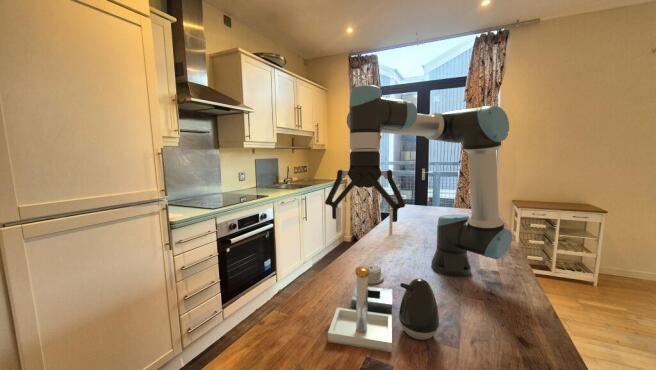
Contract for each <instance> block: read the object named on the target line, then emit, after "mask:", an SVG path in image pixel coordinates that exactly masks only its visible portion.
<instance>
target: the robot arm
mask: <svg viewBox="0 0 656 370" xmlns="http://www.w3.org/2000/svg"><path fill="white" fill-rule="evenodd" d="M348 107H349V112H348V114H347V116H346V125H347V128H348V129H349V149H350V150H352V151H350V152H349V169H348V170H343V169H338V170H337V171H336V179H335V180H334V183H333V184H332V187H331V189H330V191H329V193H328V195H327V197H326V199H325V202H324V204H325V205H326V206H330V207H331V213H332V215H331V216H332V217H331V218H332V219H333V220H335V232H336V233H340V232H341V230H342V222H341V221H342V219H341V218H342V215H341V214H342V207H341V205H339V204H340V203H341V202H342V201H343V200H344V198H345V197H346V196H347V195H348V194H349V193H350V192H351V191H352V189H353V188H354V187H357V188H369V189H370V188H372V187H374V188H375V189H376V190H377V191H378V193H379V194H380V195H381V196H382V198H383V199H384V200H385V201H386V203H388V205H389V206H390V207H389V218H388V219H389V227H388V229H389V230H388V231H389V232H388V236H390V237H392V236H393V223H397V221H398V211H399V209H401V208H402V209H403V208H405V207H406V203H405V200H404V199H403V196H402V194H401V192H400V190H399V188H398V186H397V184H396V182H395V180H394V177H393V171H392V169H388V170H381V169H380V167H381V165H380V164H381V161H380V160H381V158H380V157H381V153H380V151H379V150H380V149H381V134H391V135H393V134H394V135H403V136H405V135H407V136H415V137H416V136H418V137H424V138H426V139H427V140H431V141H432V140H433V141H440V142H444V143H452V144H453V143H454V144H462V150H464V152H466V153H467V160H468V179H469V194H470V195H469V196H470V197H469V198H470V211H471V213H470V214H471V216H469V215H466V214H445V215H440V216H439V217H438V220H437V225H436V227H437V228H436V229H437V232H436V233H437V234H436V250H435V252H434V254H433V257H432V260H431V269H432V270H433V271H435V272H437V273H438V274H441V275H444V276H448V277H456V278H459V277H460V278H462V277H468V276H469V275H471V272H472V271H471V270H472V266H471V263H470V259H469V255H468V252H470V253H473V254H476V255H480V256H483V257H485V258H489V259H492V260H500V259H502V258H503V257H504V256H505V255H506V254H507V253H508V251H509V249H510V248H511V245H512V241H513V233H512V231H511V230H510V229H508V228H507V227H505V221H504V219H503V218H502V217H500V216H499V215H500V214H499V189H498V188H499V187H498V186H499V185H498V184H499V183H498V162H497V161H498V159H497V151H498V150H499V148H501V147H502V142H503V141H505V140H506V139H508V138H507V137H509V132H510V122H509V121H510V120H509V118H508V115H507V113H506V111H504V109H503V108H501V107H500V106H499V105H485V106H484V105H482V106H478V107H472V108H466V109H465V108H464V109H460V110H452V111H447V112H441V113H440V112H431V113H429V114H424V113H418V109H417V106H416V104H415V103H414V102H413V101H409V100H405V99H399V98H398V99H397V98H386V97H383V96H382V92H381V87H379V86H377V85H374V84H373V85H371V84H364V85H358V86H355V87H353V88H352V89H351V91H350V96H349V105H348ZM347 176H348V177H349V179H350V180H351V181H350V183H348V185H347V186H346V187H345V188H344V190H343V191H342V192H341V193H340V194H339V195H338V197H336V199H335V200H333V199H334V198H335V196H336V193H337V191H338V189H339V188H340V185H341V184H342V181H343V179H345V178H346V177H347ZM382 176H383V178H384V179H385V180H387V181H388V184H389V186H390V188H391V189H392V192H393V194H394V196H395V198H396V200H397V202H396V201H395V200H394V199H393V198H392V197H391V195H390V194H389V193H388V191H386V190H385V188H384V187H383V186H382V185H381V183H380V182H379V179H380V178H381V177H382Z"/></svg>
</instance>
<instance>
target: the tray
mask: <svg viewBox="0 0 656 370" xmlns="http://www.w3.org/2000/svg"><path fill="white" fill-rule="evenodd" d="M327 342H328V343H333V344H339V345H345V346H349V347H357V348H363V349H370V350H375V351H381V352H387V353H392V352H393V349H392V348H393V314H392V315H391V314H383V313H375V312H368V311H367V332H366V333H358V332H357V331H356V310H353V309H351V308H344V307H338V306H337V307H336V309H335V313H334V315H333V318H332V320H331V324H330V327H329V329H328V331H327Z"/></svg>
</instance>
